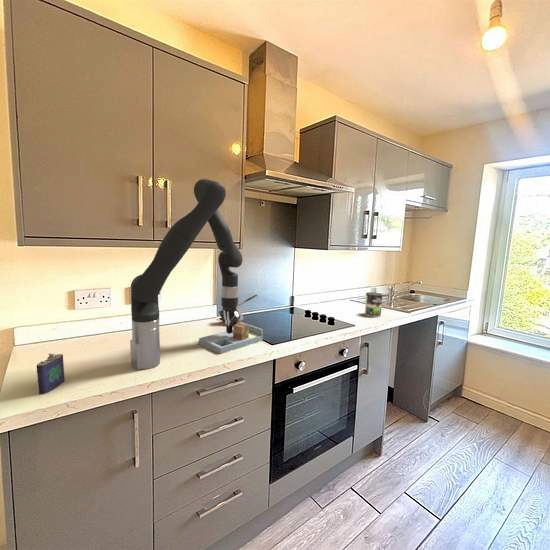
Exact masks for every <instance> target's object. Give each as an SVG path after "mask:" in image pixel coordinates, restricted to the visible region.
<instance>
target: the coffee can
mask: <svg viewBox="0 0 550 550" xmlns="http://www.w3.org/2000/svg"><path fill="white" fill-rule="evenodd" d="M383 296H384V294H383V293H380V292H371V291H370V292H368V291H367V292H365V307H364V315H365V316H367V317H371V318H379V317H382V306H383Z"/></svg>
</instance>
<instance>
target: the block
mask: <svg viewBox="0 0 550 550" xmlns="http://www.w3.org/2000/svg"><path fill="white" fill-rule="evenodd" d="M244 323H245V322H243V323H238V324H236V325H233V338H234V339H238V340H244V339H247V338H249V325H250V324H249V325H248V323H246V324H244Z"/></svg>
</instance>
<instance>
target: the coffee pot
mask: <svg viewBox="0 0 550 550" xmlns="http://www.w3.org/2000/svg"><path fill="white" fill-rule="evenodd" d="M254 298H257V299H258V298H259V296H258V294H255V295H252V296H249V298H247V299H245V300H244V301H242V302H240V300H239V299H238V306H237V307H236V309H237V314H238V315H240V319H239V320H238V322H237V323H236V324H238V323H239V322H243V321H244V315H243V314H242V311H241V309H240V306H241V305H243V304H244V303H247V302H248V301H250V300H253V299H254ZM236 324H235V325H236Z"/></svg>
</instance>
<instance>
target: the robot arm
mask: <svg viewBox="0 0 550 550" xmlns="http://www.w3.org/2000/svg"><path fill="white" fill-rule="evenodd" d="M193 195H194V197H195V200H196V201H197V204H196V205H195V206H194V208H193V209H192V210H191V211H190V212H189V213H187V214H186V215H185V216H184V215H183V216H182V217H181V218H180V219H178V220H177V221H176V222H175V223H173V225H172V226H171V227H170V228H169V229H168V231H167V232H166V234H165V235H164V237H163V239H162V240H161V241H160V244H159V247H158V248H157V251H156V253H155V255H154V258H153V260H152V261H151V263H150V264H149V265H148V267H147V268H146V269H145V270H144V271H143V273H141V274H139V275H137V276H136V277H134V278H133V280H132V281H131V283H130V305H131V306H130V308H131V309H130V310H131V311H130V312H131V335H132V336H131V339H130V342H129V345H130V349H129V350H130V366H132V367H133V368H134V369H136V370H137V371H139V370H148V369H153V368H155V367H157V366H159V365H160V364H161V350H160V349H161V347H160V346H161V341H160V339H161V338H160V337H161V336H160V335H161V334H160V330H161V329H160V308H159V294H160V292H161V290H162V289H163V287H164V285H165V283H166V281H167V279H168V278H169V276H170V274H172V273H171V272H173V270H174V269H175V268H176V266H177V265H178V264H179V263H180V261H181V260H183V259H182V258H183V257H184V256H185V254H186V253H187V252H188V251H189V249H190V247H192V245H193V243H194V241H195V240H196V238H197V237H198V236H199V234H200V232H201V231H202V230H203V229H204V227H205V225H206V224H207V223H208V224H209V226H210V228H211V229H210V230H211V232H212V234H213V237H214V240H215V243H216V246H217V248H218V250H219V251H220V253H219V254H218V260H217V261H218V266H219V269H220V274H221V289H220V290H221V291H220V294H221V296H220V297H221V298H220V299H221V300H220V304H221V307H222V309H221V310H219V312H218V314H219V316H220V317H221V321H222V323H224V324H225V326H226V327H225V328H226V329H225V331H226V332H227V333H229V334H230V333H232V331H233V325H235V324H236V323H237V322H238V320H239V319H240V315H238V314H237V309H236V307H237V306H238V304H239V302H238V300H239V276H238V275H239V274H237V273H236V272H235V271H232V270H231V269H230V268H234V269H235V268H236V269H237V268H240V267H241V266H242V265H243V255H242V253H241V251H240V250H239V248H238V247H237V245H236V244H235V242H234V239H233V236H232V232H231V229H230V227H229V225H228V224H227V222H226V221H225V219H224V218H223V216H222V215H221V212H220V211H219V208H220V207H221V206H222V204H223V203H224V201H225V199H226V196H227V190H226V187H225V185H223V183H221V182H219V181H215V180H210V179H208V178H202V179H199V180H197V181H196V182H195V184H194V187H193Z"/></svg>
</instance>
